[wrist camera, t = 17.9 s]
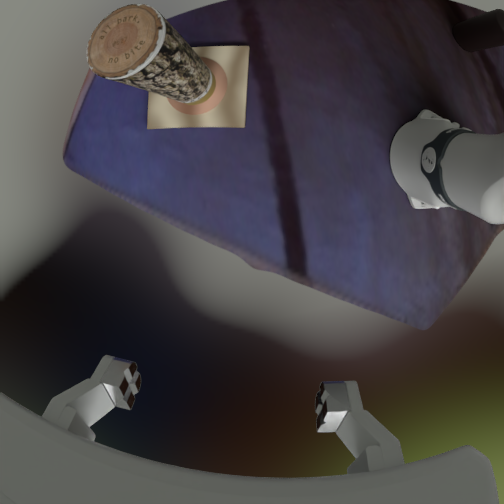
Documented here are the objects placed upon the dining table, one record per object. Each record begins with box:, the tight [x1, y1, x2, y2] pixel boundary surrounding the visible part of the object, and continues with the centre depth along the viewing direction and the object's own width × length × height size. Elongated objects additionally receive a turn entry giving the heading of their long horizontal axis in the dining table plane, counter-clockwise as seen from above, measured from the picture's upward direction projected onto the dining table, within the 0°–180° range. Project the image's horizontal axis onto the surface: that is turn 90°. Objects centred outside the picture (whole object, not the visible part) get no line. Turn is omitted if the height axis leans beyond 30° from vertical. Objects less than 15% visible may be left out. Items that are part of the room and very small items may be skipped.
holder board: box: [147, 46, 250, 129], centre depth 38 cm, size 16×14×2 cm
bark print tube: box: [87, 4, 216, 105], centre depth 26 cm, size 7×7×25 cm
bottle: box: [453, 9, 504, 52], centre depth 20 cm, size 7×7×20 cm
